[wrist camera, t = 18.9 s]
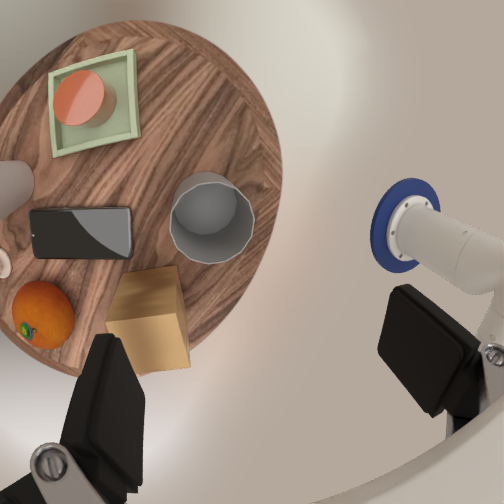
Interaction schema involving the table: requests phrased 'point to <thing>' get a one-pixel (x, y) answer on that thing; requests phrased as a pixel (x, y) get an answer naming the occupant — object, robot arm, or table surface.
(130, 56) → the tray
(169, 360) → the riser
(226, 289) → the table surface
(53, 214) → the smartphone
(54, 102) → the orange cylinder puck
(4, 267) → the candle
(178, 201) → the cup
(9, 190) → the coffee cup
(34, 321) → the fruit
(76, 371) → the table surface
